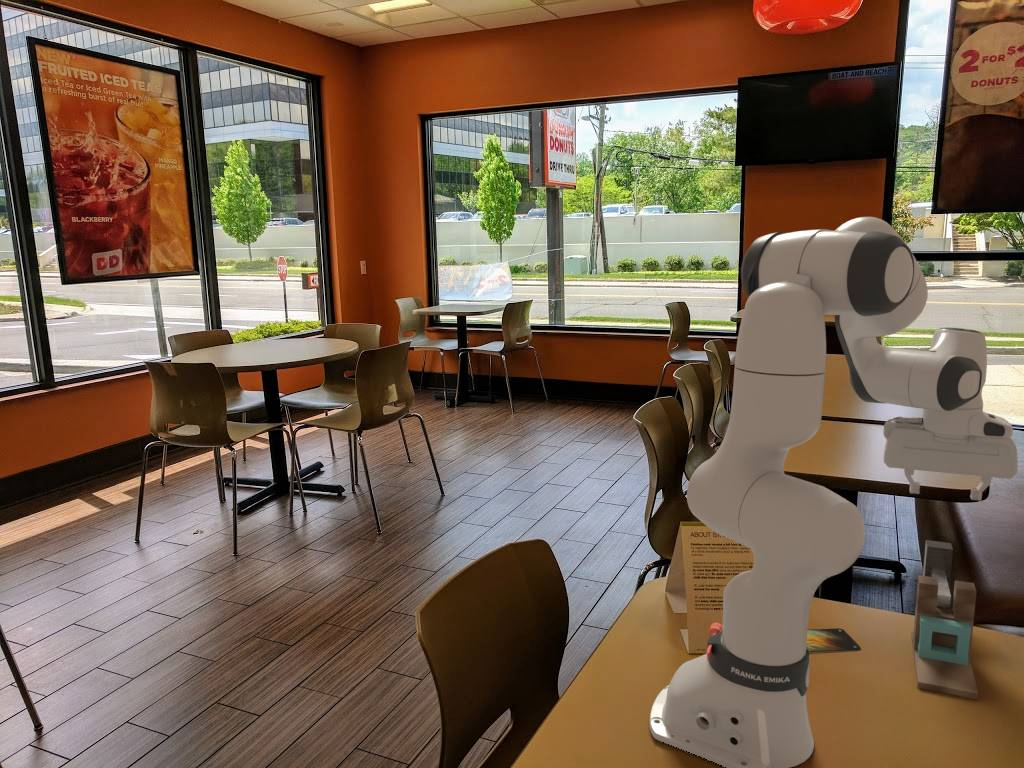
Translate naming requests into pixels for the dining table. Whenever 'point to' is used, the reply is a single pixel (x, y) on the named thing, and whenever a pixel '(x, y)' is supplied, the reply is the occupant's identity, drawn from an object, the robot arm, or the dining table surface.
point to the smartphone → (830, 641)
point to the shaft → (939, 568)
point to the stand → (944, 639)
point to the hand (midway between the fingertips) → (944, 495)
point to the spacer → (940, 652)
